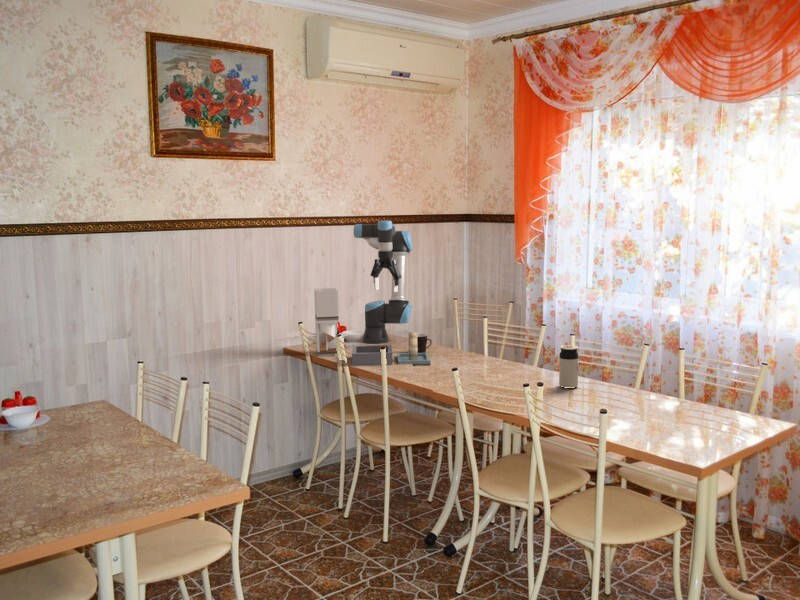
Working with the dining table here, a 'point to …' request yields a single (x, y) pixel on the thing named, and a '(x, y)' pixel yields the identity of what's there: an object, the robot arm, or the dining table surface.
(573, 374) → the travel mug
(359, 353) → the grey open bin
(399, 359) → the tray
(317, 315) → the white coffee grinder
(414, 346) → the dowel pin
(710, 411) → the dining table surface
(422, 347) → the coffee mug
